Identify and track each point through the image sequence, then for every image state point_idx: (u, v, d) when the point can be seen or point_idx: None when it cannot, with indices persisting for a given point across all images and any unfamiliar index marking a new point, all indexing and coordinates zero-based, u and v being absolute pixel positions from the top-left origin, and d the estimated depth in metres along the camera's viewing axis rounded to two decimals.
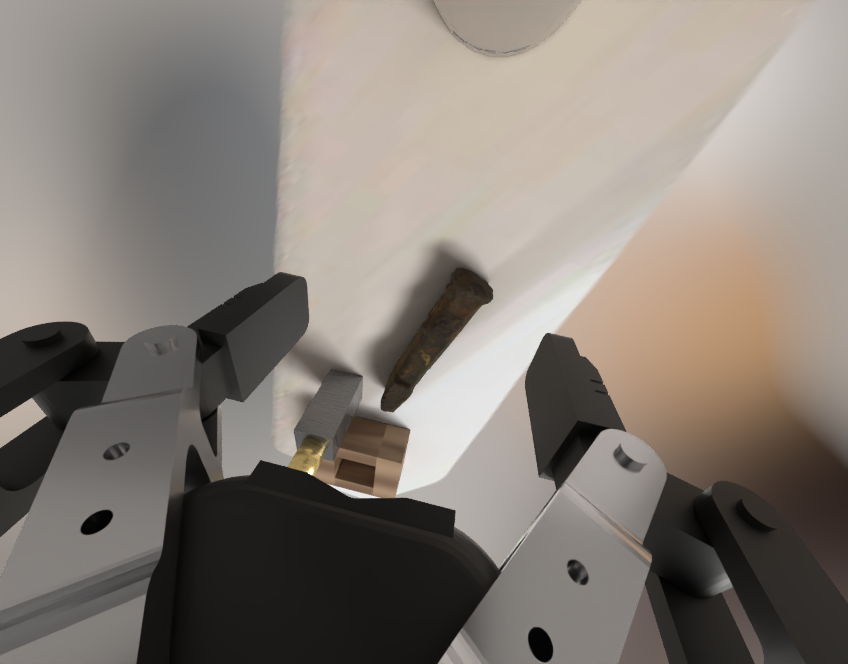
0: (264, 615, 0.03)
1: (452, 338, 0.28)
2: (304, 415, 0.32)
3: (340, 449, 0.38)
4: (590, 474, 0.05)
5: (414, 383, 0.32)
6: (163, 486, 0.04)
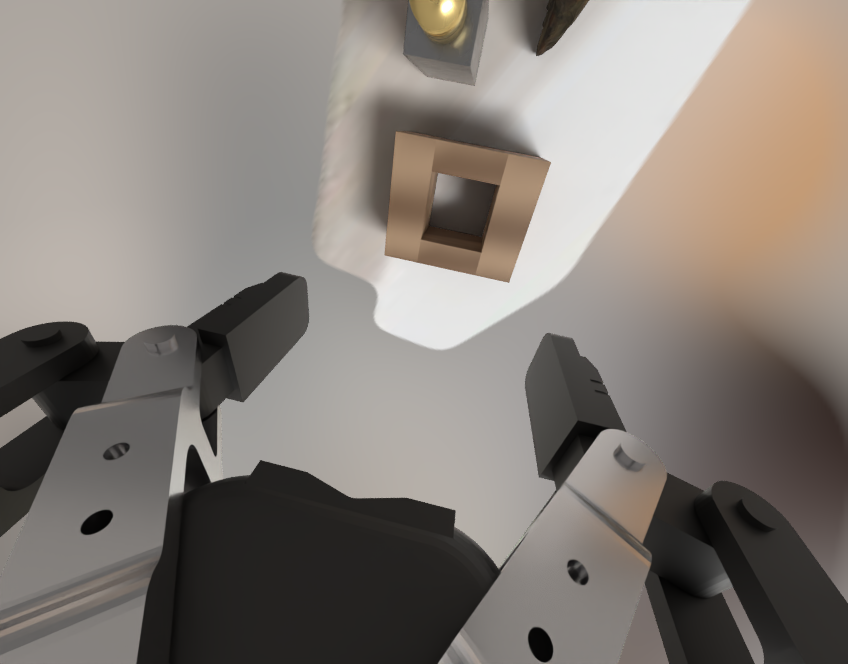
0: (264, 615, 0.03)
1: None
2: None
3: (447, 146, 0.23)
4: (590, 474, 0.05)
5: None
6: (163, 486, 0.04)
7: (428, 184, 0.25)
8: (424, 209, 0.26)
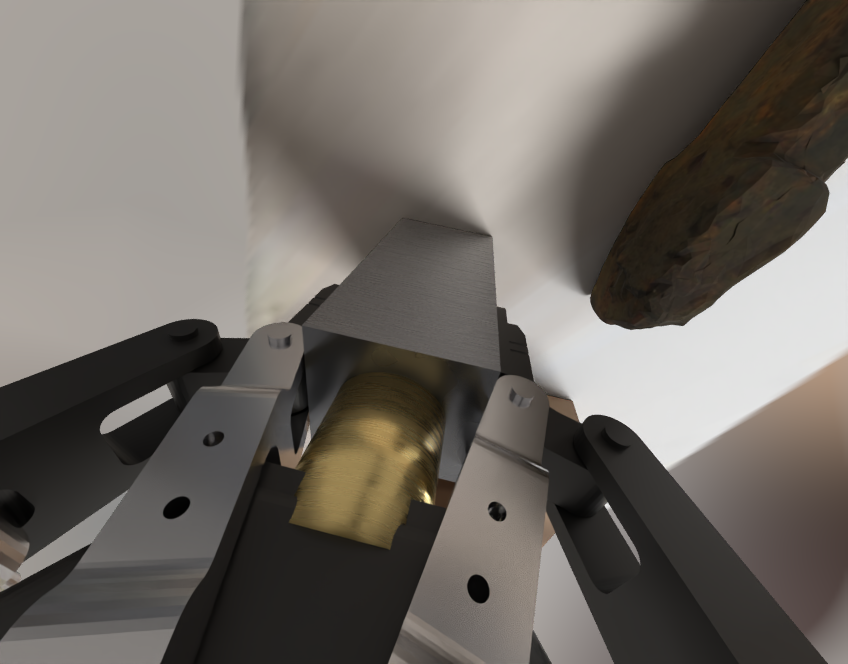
0: (265, 614, 0.03)
1: None
2: (345, 287, 0.08)
3: None
4: None
5: (830, 172, 0.08)
6: (235, 489, 0.04)
7: None
8: None
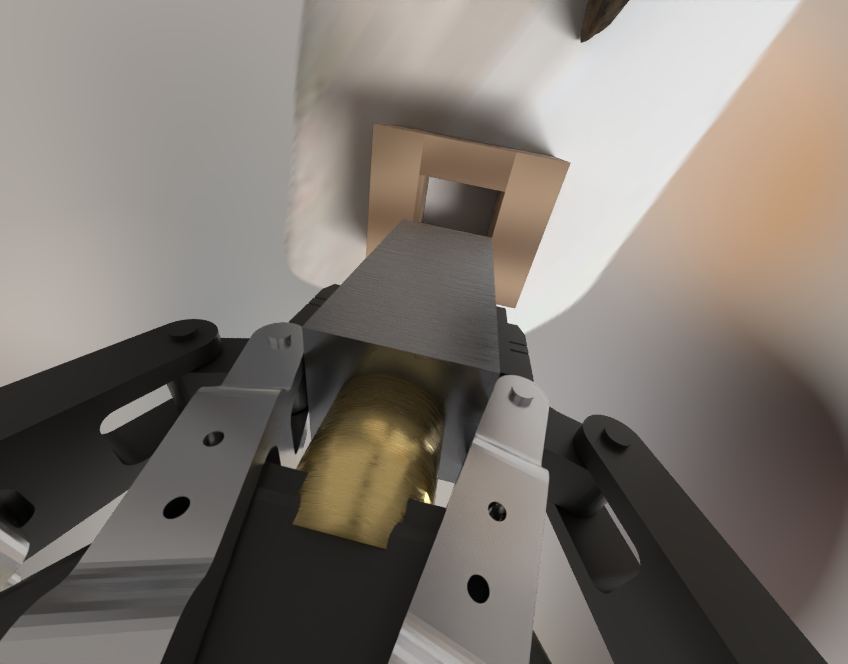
0: (265, 615, 0.03)
1: None
2: (345, 288, 0.08)
3: (438, 143, 0.19)
4: None
5: None
6: (235, 489, 0.04)
7: (415, 190, 0.20)
8: None
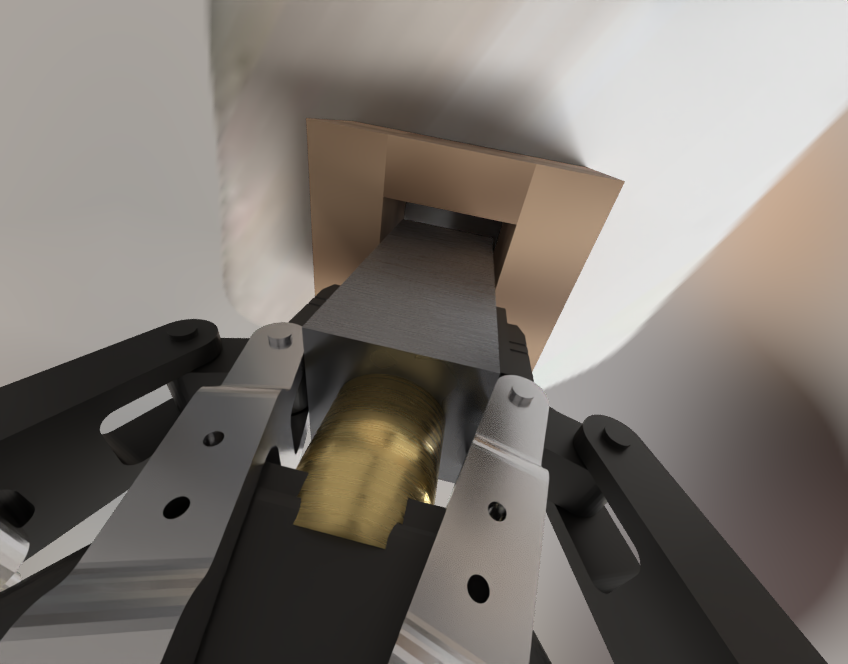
0: (265, 614, 0.03)
1: None
2: (345, 289, 0.08)
3: (410, 148, 0.12)
4: None
5: None
6: (235, 490, 0.04)
7: (379, 220, 0.13)
8: None
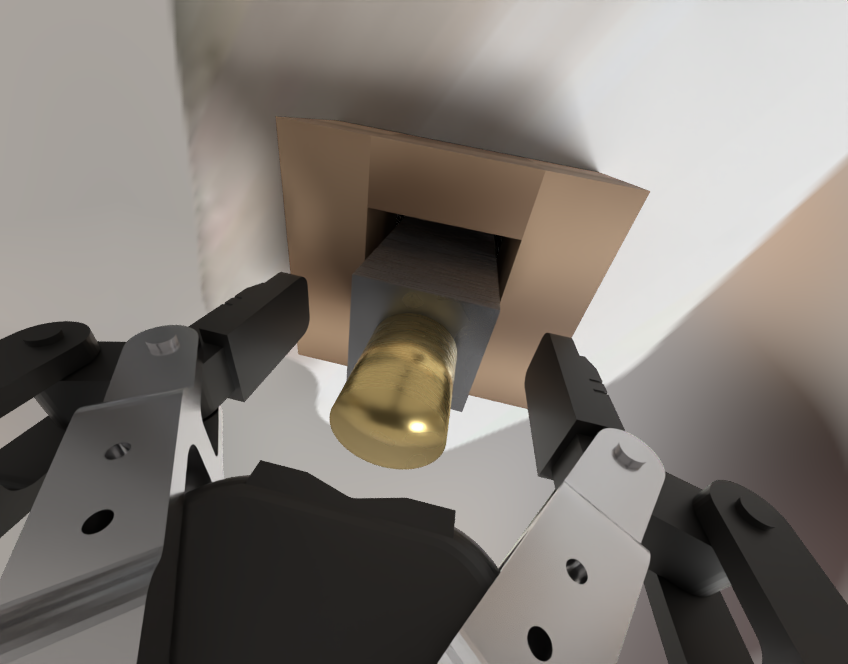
0: (265, 615, 0.03)
1: None
2: (378, 252, 0.10)
3: (397, 152, 0.10)
4: (588, 473, 0.05)
5: None
6: (165, 486, 0.04)
7: (364, 234, 0.12)
8: None
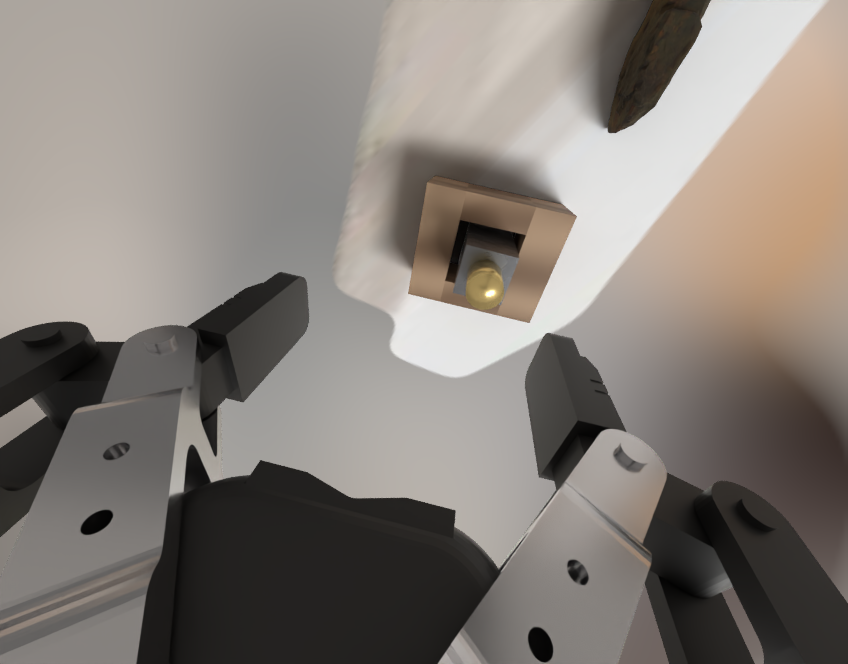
0: (265, 615, 0.03)
1: None
2: (469, 238, 0.24)
3: (476, 198, 0.24)
4: (590, 474, 0.05)
5: (701, 10, 0.18)
6: (163, 486, 0.04)
7: (456, 231, 0.26)
8: (450, 253, 0.27)
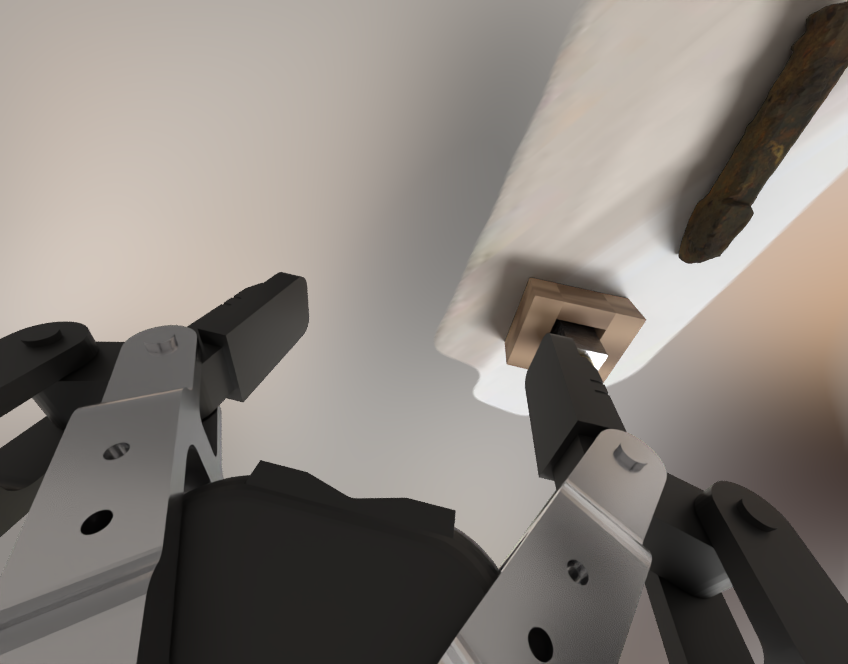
0: (265, 615, 0.03)
1: (821, 104, 0.23)
2: (567, 336, 0.33)
3: (571, 306, 0.33)
4: (590, 474, 0.05)
5: (752, 201, 0.27)
6: (163, 486, 0.04)
7: (552, 325, 0.35)
8: None
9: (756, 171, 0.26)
